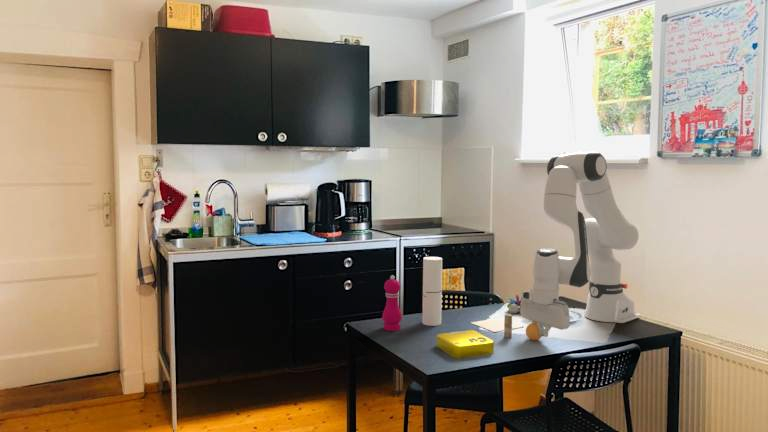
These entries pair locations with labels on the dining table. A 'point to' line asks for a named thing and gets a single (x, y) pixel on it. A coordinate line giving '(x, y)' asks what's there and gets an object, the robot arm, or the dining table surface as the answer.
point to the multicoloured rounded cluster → (514, 304)
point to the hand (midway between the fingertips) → (543, 336)
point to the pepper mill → (392, 305)
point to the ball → (533, 331)
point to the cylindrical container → (432, 291)
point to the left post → (508, 326)
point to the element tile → (465, 344)
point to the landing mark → (494, 325)
